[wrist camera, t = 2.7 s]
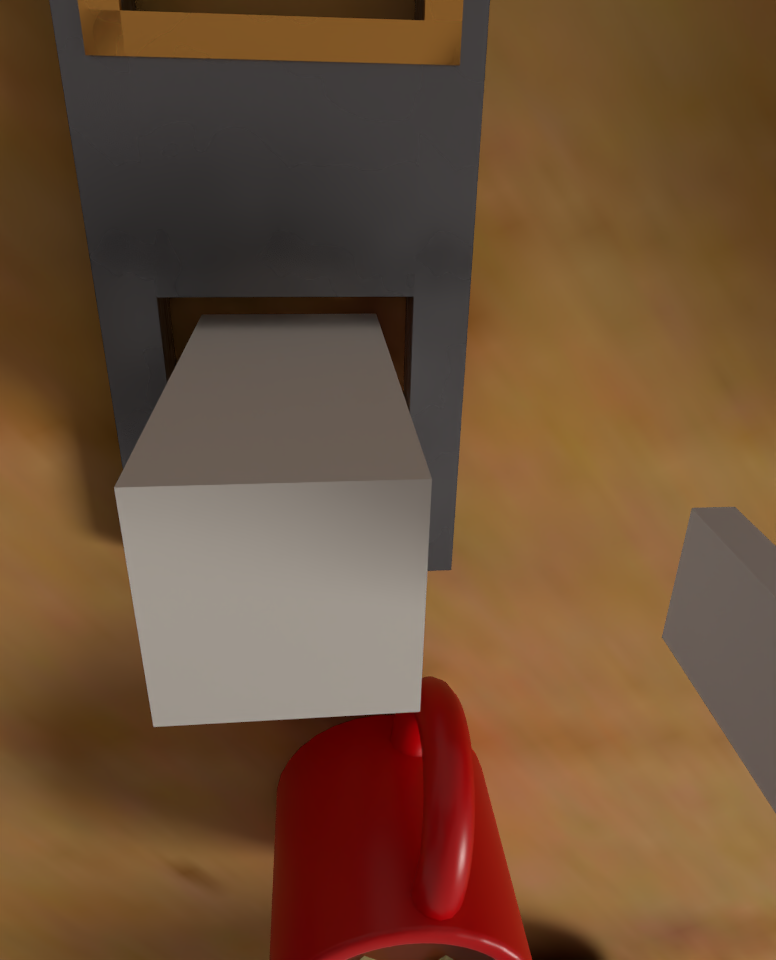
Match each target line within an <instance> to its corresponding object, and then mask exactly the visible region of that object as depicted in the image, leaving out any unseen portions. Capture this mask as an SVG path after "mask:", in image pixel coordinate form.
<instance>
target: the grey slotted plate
mask: <svg viewBox="0 0 776 960" xmlns="http://www.w3.org/2000/svg"><path fill="white" fill-rule="evenodd" d="M49 1H50V7H51V14H52V20H53V27H54V33H55V39H56V46H57V52H58V58H59V65H60V71H61V78H62V84H63V90H64V97H65V103H66V109H67V116H68V122H69V129H70V135H71V141H72V148H73V154H74V160H75V167H76V173H77V180H78V186H79V192H80V199H81V205H82V211H83V218H84V224H85V231H86V237H87V243H88V250H89V256H90V262H91V269H92V275H93V282H94V288H95V294H96V301H97V307H98V313H99V320H100V326H101V333H102V339H103V345H104V352H105V358H106V364H107V371H108V377H109V384H110V390H111V396H112V403H113V409H114V415H115V422H116V428H117V435H118V441H119V447H120V454H121V460H122V466H123V469H124V467H125V465H126V463H127V461H128V459H129V457H130V455H131V453H132V451H133V449H134V447H135V445H136V443H137V441H138V439H139V437H140V435H141V434H142V432H143V430H144V428H145V426H146V424H147V422H148V420H149V418H150V416H151V414H152V412H153V410H154V408H155V406H156V404H157V402H158V400H159V398H160V396H161V394H162V392H163V390H164V388H165V386H166V384H167V382H168V380H169V378H170V376H171V374H172V372H173V370H174V368H175V366H176V359H175V350H174V341H173V332H172V323H171V314H170V305H169V297H406V320H405V354H404V387H403V395H404V398H405V401H406V404H407V407H408V410H409V413H410V415H411V418H412V421H413V424H414V427H415V430H416V433H417V436H418V439H419V442H420V445H421V448H422V451H423V454H424V457H425V460H426V463H427V466H428V469H429V472H430V475H431V478H432V489H431V508H430V528H429V547H428V567H427V571H435V570H451V563H452V549H453V534H454V519H455V505H456V490H457V475H458V461H459V446H460V431H461V416H462V402H463V387H464V372H465V358H466V343H467V328H468V314H469V299H470V284H471V270H472V255H473V240H474V225H475V211H476V196H477V181H478V167H479V152H480V137H481V123H482V108H483V93H484V78H485V64H486V49H487V34H488V20H489V5H490V0H415V19H414V20H396V19H366V18H336V17H305V16H275V15H245V14H214V13H184V12H154V11H136V5H135V0H49Z"/></svg>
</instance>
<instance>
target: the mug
mask: <svg viewBox="0 0 776 960" xmlns="http://www.w3.org/2000/svg"><path fill="white" fill-rule="evenodd" d="M270 960H532V957H531V953H530V949H529V946H528V942H527V938H526V934H525V931H524V927H523V923H522V919H521V915H520V912H519V908H518V904H517V900H516V896H515V893H514V889H513V885H512V881H511V878H510V874H509V870H508V866H507V862H506V859H505V855H504V851H503V847H502V844H501V840H500V836H499V832H498V828H497V825H496V821H495V817H494V813H493V809H492V806H491V802H490V798H489V794H488V791H487V787H486V783H485V779H484V775H483V772H482V768H481V765H480V763H479V760H478V758H477V756H476V754H475V752H474V751H473V750H472V748H471V742H470V736H469V730H468V726H467V721H466V717H465V714H464V711H463V708H462V705H461V703H460V701H459V699H458V697H457V695H456V694H455V693H454V692H453V690H452V689H451V688H450V687H449V686H448V684H447V683H446V682H444V681H443V680H440V679H437V678H434V677H429V676H428V677H423V678H422V684H421V704H420V712H407V713H395V715H376V716H370V717H364V718H358V719H354V720H351V721H348V722H345V723H342V724H339V725H336V726H334V727H332V728H330V729H328V730H326V731H324V732H322V733H320V734H318V735H316V736H315V737H314V738H312V739H311V740H310V741H308V742H307V743H306V744H304V745H303V746H302V747H301V748H300V749H299V750H298V751H297V752H296V753H295V754H294V755H293V756H292V758H291V759H290V760H289V761H288V763H287V765H286V767H285V768H284V770H283V772H282V774H281V777H280V780H279V784H278V788H277V802H276V824H275V847H274V870H273V892H272V915H271V938H270Z"/></svg>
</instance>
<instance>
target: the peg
mask: <svg viewBox="0 0 776 960" xmlns="http://www.w3.org/2000/svg"><path fill="white" fill-rule="evenodd" d="M431 489H432V478H431V475H430V472H429V469H428V466H427V463H426V460H425V457H424V454H423V451H422V448H421V445H420V442H419V439H418V436H417V433H416V430H415V427H414V424H413V421H412V418H411V415H410V413H409V410H408V407H407V404H406V401H405V398H404V395H403V392H402V389H401V386H400V383H399V380H398V377H397V374H396V371H395V368H394V365H393V362H392V359H391V356H390V353H389V350H388V347H387V345H386V342H385V339H384V336H383V333H382V330H381V327H380V324H379V321H378V318H377V315H376V314H202V315H201V317H200V319H199V321H198V323H197V325H196V327H195V329H194V331H193V333H192V335H191V337H190V339H189V341H188V343H187V345H186V347H185V349H184V351H183V353H182V355H181V357H180V359H179V361H178V363H177V365H176V366H175V368H174V370H173V372H172V374H171V376H170V378H169V380H168V382H167V384H166V386H165V388H164V390H163V392H162V394H161V396H160V398H159V400H158V402H157V404H156V406H155V408H154V410H153V412H152V414H151V416H150V418H149V420H148V422H147V424H146V426H145V428H144V430H143V432H142V434H141V435H140V437H139V439H138V441H137V443H136V445H135V447H134V449H133V451H132V453H131V455H130V457H129V459H128V461H127V463H126V465H125V467H124V469H123V471H122V473H121V475H120V477H119V479H118V481H117V483H116V485H115V487H114V490H115V496H116V502H117V509H118V515H119V521H120V527H121V533H122V539H123V545H124V551H125V557H126V563H127V569H128V575H129V581H130V588H131V594H132V600H133V606H134V612H135V618H136V624H137V630H138V636H139V642H140V648H141V654H142V660H143V667H144V673H145V679H146V685H147V691H148V697H149V703H150V709H151V715H152V721H153V727H162V726H180V725H197V724H215V723H232V722H250V721H267V720H284V719H302V718H319V717H337V716H354V715H372V714H389V713H407V712H420V704H421V684H422V665H423V645H424V626H425V606H426V587H427V567H428V547H429V528H430V508H431Z"/></svg>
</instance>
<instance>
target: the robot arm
mask: <svg viewBox="0 0 776 960" xmlns="http://www.w3.org/2000/svg"><path fill="white" fill-rule="evenodd" d="M662 638H663V639H664V641H665V642H666V644H667V646H668V647H669V649H670V650H671V652H672V653H673V655H674V656H675V658H676V659H677V661H678V663H679V664H680V666H681V667H682V669H683V670H684V672H685V673H686V675H687V677H688V678H689V680H690V681H691V683H692V684H693V686H694V687H695V689H696V690H697V692H698V694H699V695H700V697H701V698H702V700H703V701H704V703H705V704H706V706H707V707H708V709H709V711H710V712H711V714H712V715H713V717H714V718H715V720H716V721H717V723H718V725H719V726H720V728H721V729H722V731H723V732H724V734H725V735H726V737H727V738H728V740H729V742H730V743H731V745H732V746H733V748H734V749H735V751H736V752H737V754H738V756H739V757H740V759H741V760H742V762H743V763H744V765H745V766H746V768H747V769H748V771H749V773H750V774H751V776H752V777H753V779H754V780H755V782H756V783H757V785H758V786H759V788H760V790H761V791H762V793H763V794H764V796H765V797H766V799H767V800H768V802H769V804H770V805H771V807H772V808H773V810H774V811H775V813H776V546H775V545H774V544H773V543H772V542H771V541H770V540H769V539H768V538H767V537H766V536H765V535H764V534H762V533H761V532H760V531H759V530H758V529H757V528H756V527H755V526H754V525H753V524H752V523H751V522H750V521H749V520H748V519H747V518H746V517H745V516H744V515H743V514H742V513H741V512H740V511H739V510H738V509H737V508H735V507H711V508H692V510H691V514H690V518H689V523H688V527H687V531H686V536H685V540H684V544H683V549H682V553H681V557H680V561H679V566H678V570H677V574H676V579H675V583H674V587H673V592H672V596H671V600H670V605H669V609H668V613H667V618H666V622H665V626H664V631H663V635H662Z"/></svg>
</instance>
